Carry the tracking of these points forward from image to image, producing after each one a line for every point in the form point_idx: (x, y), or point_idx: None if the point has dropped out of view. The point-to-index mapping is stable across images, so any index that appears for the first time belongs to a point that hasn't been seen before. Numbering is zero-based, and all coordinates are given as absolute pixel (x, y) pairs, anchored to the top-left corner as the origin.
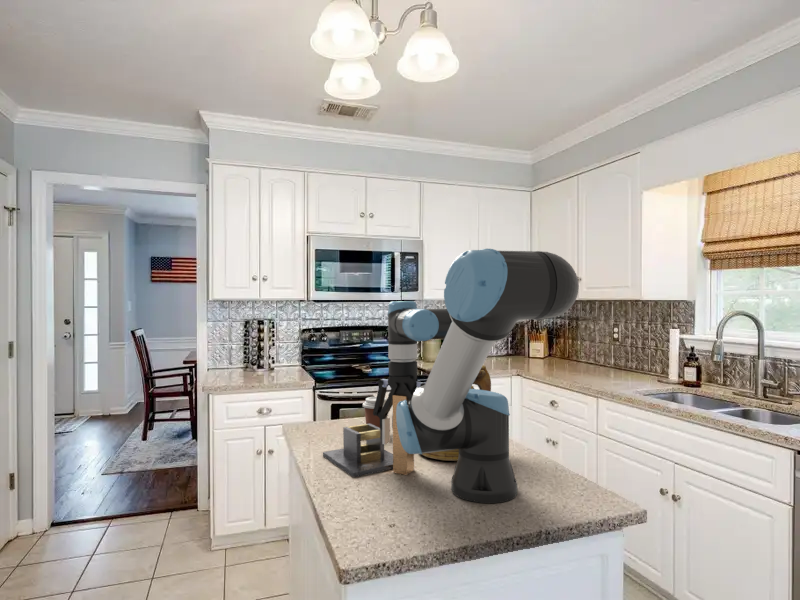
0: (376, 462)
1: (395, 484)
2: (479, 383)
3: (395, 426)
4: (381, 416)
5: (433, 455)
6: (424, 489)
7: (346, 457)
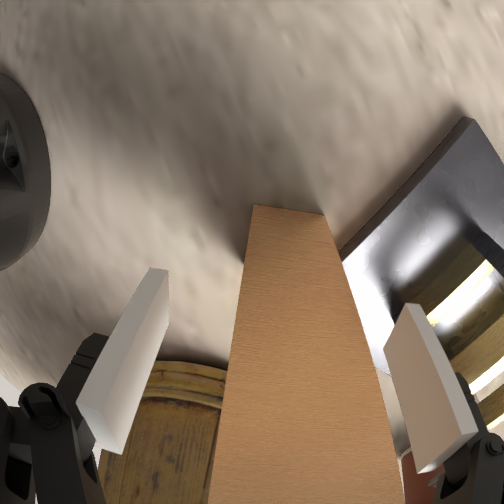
0: (414, 264)
1: (262, 78)
2: None
3: (355, 394)
4: (489, 449)
5: (208, 375)
6: (122, 79)
7: None
